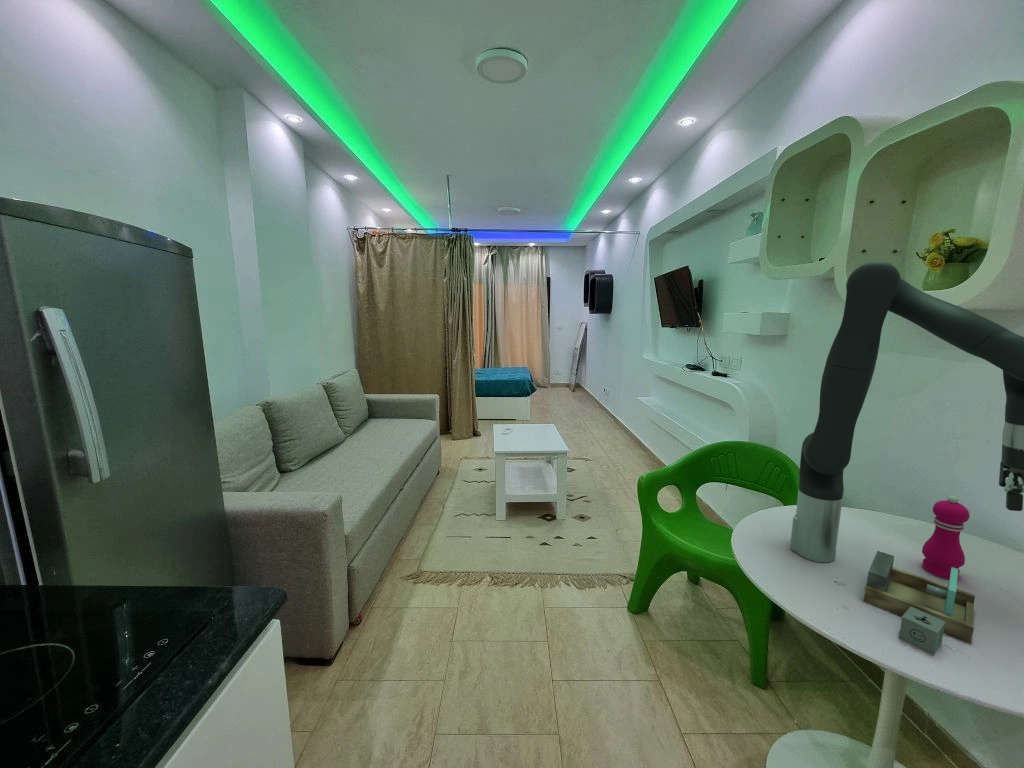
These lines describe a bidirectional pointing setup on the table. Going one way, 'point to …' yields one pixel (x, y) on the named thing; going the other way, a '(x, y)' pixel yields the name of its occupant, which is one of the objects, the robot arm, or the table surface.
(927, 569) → the pepper mill
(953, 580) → the bar
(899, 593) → the pusher lane
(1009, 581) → the table surface
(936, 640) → the dice cube
